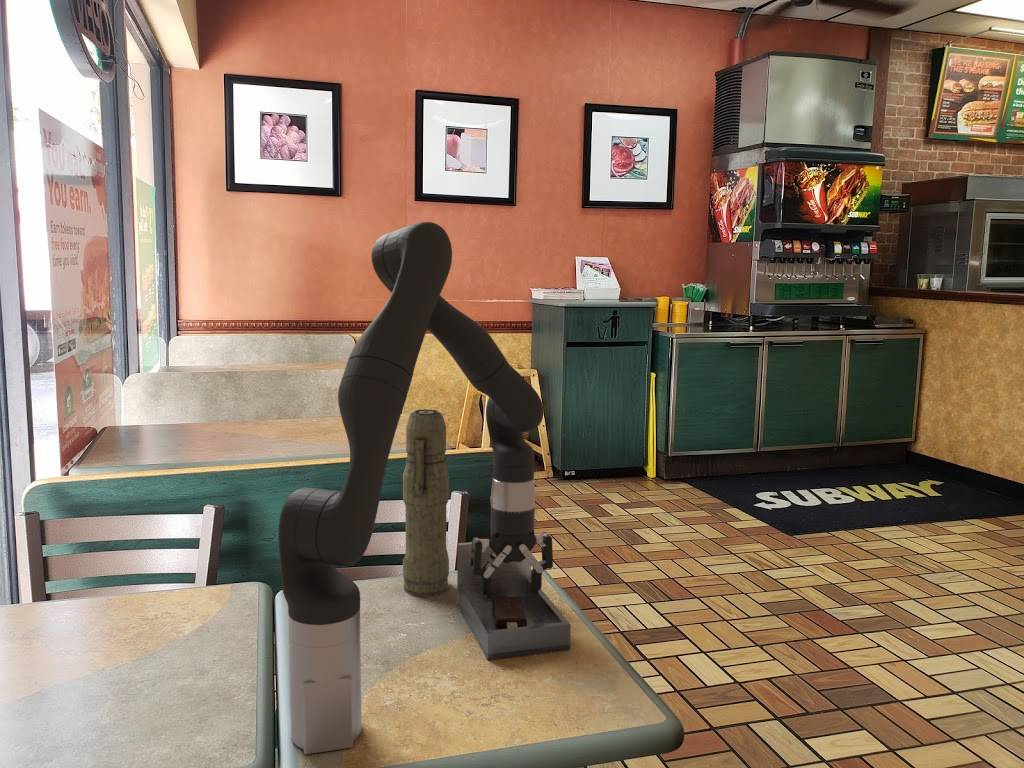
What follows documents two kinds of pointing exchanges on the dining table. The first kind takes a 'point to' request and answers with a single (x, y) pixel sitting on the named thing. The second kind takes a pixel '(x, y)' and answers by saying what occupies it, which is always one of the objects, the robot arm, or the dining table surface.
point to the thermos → (426, 504)
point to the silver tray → (510, 580)
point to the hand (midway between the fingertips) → (511, 594)
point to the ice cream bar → (509, 612)
